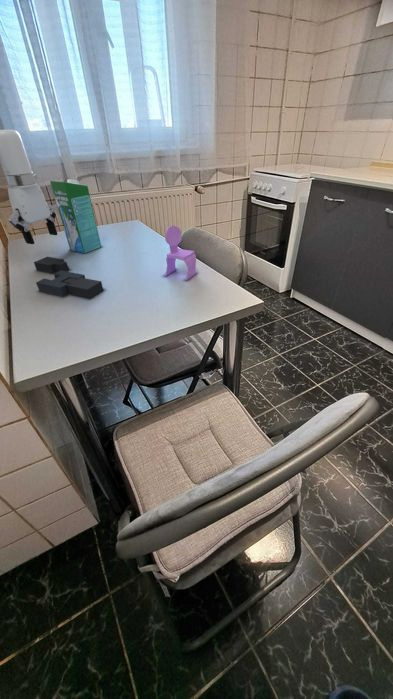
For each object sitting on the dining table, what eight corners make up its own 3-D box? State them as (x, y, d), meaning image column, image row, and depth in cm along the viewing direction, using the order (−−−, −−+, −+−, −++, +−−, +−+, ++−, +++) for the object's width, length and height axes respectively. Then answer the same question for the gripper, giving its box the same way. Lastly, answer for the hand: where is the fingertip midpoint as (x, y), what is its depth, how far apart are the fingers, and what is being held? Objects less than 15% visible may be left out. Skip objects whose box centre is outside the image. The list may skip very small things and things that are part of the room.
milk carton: (101, 247, 123) (86, 178, 107) (84, 253, 117) (65, 181, 102) (87, 243, 127) (70, 177, 112) (69, 249, 121) (49, 180, 106)
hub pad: (39, 291, 90) (35, 282, 88) (63, 278, 97) (60, 270, 95) (63, 297, 86) (60, 287, 85) (86, 283, 94) (84, 274, 92)
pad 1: (36, 270, 104) (33, 262, 102) (50, 264, 108) (47, 256, 106) (59, 274, 100) (56, 266, 98) (72, 268, 104) (69, 260, 102)
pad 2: (62, 292, 89) (58, 283, 87) (76, 284, 93) (73, 275, 91) (90, 299, 85) (87, 289, 83) (103, 290, 89) (101, 281, 87)
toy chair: (186, 282, 92) (183, 232, 83) (162, 277, 96) (157, 229, 86) (198, 272, 98) (197, 225, 89) (176, 268, 101) (173, 222, 92)
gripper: (36, 176, 96) (54, 230, 106) (-14, 185, 83) (12, 246, 94) (53, 176, 93) (69, 232, 103) (4, 186, 81) (29, 248, 91)
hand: (42, 239), depth 98 cm, fingers open, 9 cm apart
